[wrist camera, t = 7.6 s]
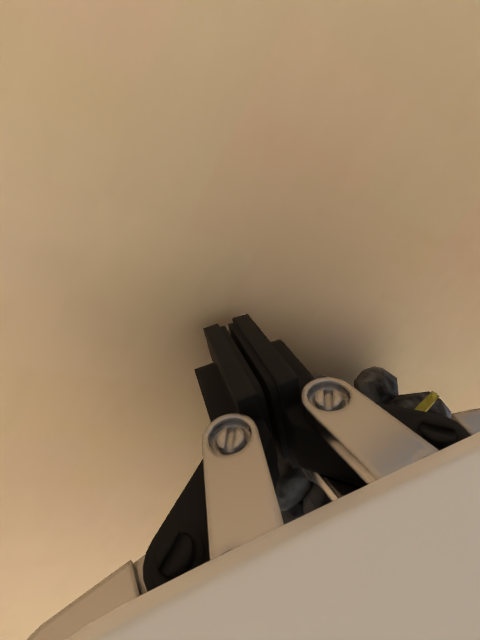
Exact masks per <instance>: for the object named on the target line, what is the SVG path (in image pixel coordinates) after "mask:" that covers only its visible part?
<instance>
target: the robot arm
mask: <svg viewBox="0 0 480 640" xmlns="http://www.w3.org/2000/svg"><path fill="white" fill-rule="evenodd" d="M203 330H204V334H205V337H206V340H207V344H208V347H209V351H210V354H211V357H212V361H213V363H211V364H208V365H206V366H203V367H200V368H197V369H194V370H195V373H196V376H197V379H198V382H199V386H200V389H201V392H202V395H203V398H204V401H205V405H206V408H207V411H208V414H209V417H210V420H211V423H210V424H209V426H208V427H207V428H206V430H205V432H204V434H203V439H202V449H203V460H202V461H201V463H200V465H199V466H198V468H197V469H196V471H195V473H194V474H193V476H192V477H191V479H190V481H189V482H188V484H187V485H186V487H185V489H184V490H183V492H182V493H181V495H180V497H179V498H178V500H177V501H176V503H175V505H174V506H173V508H172V509H171V511H170V513H169V514H168V516H167V517H166V519H165V521H164V522H163V524H162V526H161V527H160V529H159V530H158V532H157V534H156V535H155V537H154V538H153V540H152V542H151V544H150V546H149V548H148V550H147V552H146V555H144V556H143V557H142V558H140V559H139V560H138V561H136V562H135V563H133V562H132V561H131V560H130V561H128V562H127V563H126V564H124V565H123V566H122V567H120V568H119V569H117V570H116V571H115V572H113V573H112V574H111V575H109V576H108V577H106V578H105V579H104V580H102V581H101V582H100V583H98V584H97V585H95V586H94V587H93V588H91V589H90V590H89V591H87V592H86V593H85V594H83V595H82V596H80V597H79V598H78V599H76V600H75V601H74V602H72V603H71V604H69V605H68V606H67V607H65V608H64V609H63V610H61V611H60V612H58V613H57V614H56V615H54V616H53V617H52V618H50V619H49V620H47V621H46V622H45V623H43V624H42V625H41V626H40V627H39V628H38V629H37V630H36V631H35V632H34V633H32V634H31V635H30V636H29V638H28V639H27V640H480V408H479V409H473V410H468V411H463V412H458V413H453V414H452V416H451V418H448V417H446V416H442V415H439V414H435V413H430V412H424V411H419V410H414V409H409V408H403V407H398V406H393V405H388V404H383V403H377V402H373V401H372V400H370V399H369V398H368V397H366V396H365V395H364V394H362V393H361V392H359V391H358V390H357V389H355V388H354V387H353V386H351V385H350V384H349V383H347V382H345V381H343V380H341V379H337V378H332V377H323V378H318V379H315V378H314V377H313V376H312V375H311V374H310V372H309V371H308V370H307V369H306V368H305V367H304V366H303V364H302V363H301V362H300V361H299V360H298V359H297V358H296V356H295V355H294V354H293V353H292V352H291V351H290V350H289V348H288V347H287V346H286V345H285V344H284V343H283V342H282V341H281V340H276V341H273V342H270V341H269V340H268V339H267V337H266V336H265V335H264V334H263V332H262V331H261V330H260V329H259V327H258V326H257V325H256V324H255V323H254V321H253V320H252V319H251V318H250V316H249V315H248V314H245V315H242V316H239V317H236V318H233V323H230V324H229V330H230V333H229V332H228V330H227V328H226V327H225V326H221V327H220V326H219V325H218V324H215V325H212V326H209V327H206V328H203ZM230 334H231V335H230ZM275 447H276V448H275ZM276 449H277V451H278V453H279V455H280V457H281V459H282V460H283V461H284V460H286V459H289V461H290V463H291V465H292V467H293V469H294V468H296V467H298V466H299V467H300V468H303V469H306V470H309V471H311V474H312V476H313V478H314V479H315V481H316V482H317V483H318V485H319V486H320V487H321V488H322V490H323V491H324V492H325V493H326V495H327V496H328V497H329V498H330V500H331V501H332V502H330V503H328V504H326V505H324V506H322V507H320V508H318V509H316V510H314V511H312V512H310V513H308V514H305V515H303V516H301V517H299V518H297V519H295V520H293V521H291V522H289V523H287V524H285V525H284V523H283V519H282V516H281V512H280V508H279V505H278V501H277V498H276V494H275V488H276V486H277V483H278V481H279V478H280V474H279V469H278V464H277V463H278V457H277V453H276Z"/></svg>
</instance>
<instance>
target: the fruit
mask: <svg viewBox="0 0 480 640" xmlns="http://www.w3.org/2000/svg"><path fill="white" fill-rule="evenodd" d="M311 375H312V376H313V377H314V378H315V379H318V378H323V377H327V376H322V375H316V374H311ZM354 388H355V389H357V390H358V391H359V392H361V393H362V394H364V395H365V396H366V397H368V398H369V399H370V400H372V401H373V402H377V403H383V404H388V405H393V406H398V407H403V408H409V409H414V410H419V411H424V412H430V413H435V414H439V415H442V416H446V417H448V418H451V411H450V410H449V409H448V407H447V406H446V405H445V404H444V403H443V401H442V400H441V399H439V398H438V397H439V396H438V395H437V393H435V392H433V391H432V392H431V393H430V392H422V393H413V394H405V395H398V385H397V378H396V377H395V376H393V375H392V374H390V373H389V372H387V371H386V370H384V369H383V368H379V367H371V368H368V369H365V370H363V371H362V372H361V373H360V374H359V376H358V377H357V378H356V380H355V381H354ZM275 448H276V447H275ZM276 453H277V457H278V463H277V464H278V469H279V474H280V478H279V481H278V483H277V486H276V488H275V494H276V498H277V501H278V505H279V508H280V512H281V516H282V519H283V523H284V525H285V524H287V523H289V522H291V521H293V520H295V519H297V518H299V517H301V516H303V515H305V514H308V513H310V512H312V511H314V510H316V509H318V508H320V507H322V506H324V505H326V504H328V503H330V502H332V501H331V500H330V498H329V497H328V496H327V495H326V493H325V492H324V491H323V490H322V488H321V487H320V486H319V485H318V483H317V482H316V481H315V479H314V478H313V476H312V474H311V471H309V470H306V469H303V468H300V467H299V466H298V467H296V468H294V469H293V467H292V465H291V463H290V461H289V459H286V460H284V461H283V460H282V459H281V457H280V455H279V453H278V451H277V449H276Z"/></svg>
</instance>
